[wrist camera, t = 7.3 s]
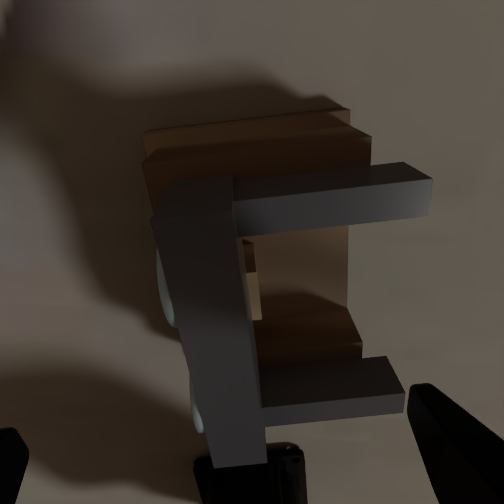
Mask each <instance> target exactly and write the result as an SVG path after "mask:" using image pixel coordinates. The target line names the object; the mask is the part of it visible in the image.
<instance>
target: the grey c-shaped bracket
mask: <svg viewBox="0 0 504 504" xmlns="http://www.w3.org/2000/svg"><path fill="white" fill-rule="evenodd" d="M432 182H433V178H431V177H429V176H427V175H426V174H424V173H422V172H420V171H419V170H417V169H415V168H413V167H412V166H410V165H408V164H406V163H405V162H397V163H388V164H379V165H371V166H362V167H354V168H345V169H336V170H328V171H319V172H310V173H302V174H293V175H284V176H276V177H267V178H258V179H250V180H241V181H234V177H233V175H226V176H217V177H209V178H200V179H192V180H183V181H174V182H172V183H171V185H170V187H169V189H168V190H167V192H166V194H165V196H164V197H163V199H162V201H161V203H160V204H159V206H158V208H157V210H156V211H155V213H154V215H153V217H152V218H151V220H150V221H151V225H152V229H153V233H154V236H155V240H156V244H157V280H158V288H159V294H160V299H161V303H162V307H163V311H164V314H165V316H166V319H167V321H168V322H169V324H170V325H171V326H172V327H178V330H179V334H180V338H181V342H182V346H183V349H184V353H185V357H186V361H187V365H188V369H189V373H190V401H191V410H192V416H193V421H194V425H195V428H196V430H197V432H198V433H205V435H206V439H207V443H208V447H209V451H210V455H211V459H212V462H213V466H214V468H223V467H232V466H242V465H252V464H262V463H267V450H266V437H265V427H269V426H279V425H288V424H298V423H307V422H317V421H327V420H336V419H346V418H356V417H365V416H375V415H385V414H394V413H403V409H404V401H405V391H404V389H403V387H402V385H401V383H400V381H399V379H398V377H397V376H396V374H395V372H394V370H393V368H392V366H391V364H390V362H389V360H388V358H387V356H380V357H371V358H361V359H352V360H343V361H333V362H324V363H314V364H305V365H296V366H286V367H277V368H267V369H259V365H258V357H257V350H256V342H255V335H254V327H253V320H252V312H251V305H250V297H249V290H248V282H247V275H246V267H245V260H244V252H243V245H242V237H246V236H255V235H264V234H273V233H282V232H291V231H300V230H308V229H317V228H326V227H335V226H344V225H353V224H362V223H370V222H379V221H388V220H397V219H406V218H415V217H424V216H428V214H429V206H430V198H431V190H432Z"/></svg>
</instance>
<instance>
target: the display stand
mask: <svg viewBox="0 0 504 504" xmlns="http://www.w3.org/2000/svg"><path fill="white" fill-rule="evenodd" d="M142 138H143V143H144V147H145V151H146V155H147V159H146V160H145V161H144V162H143V163H142V168H143V172H144V176H145V180H146V184H147V188H148V192H149V196H150V200H151V204H152V208H153V212H154V213H155V211H156V210H157V208H158V206H159V204H160V203H161V201H162V199H163V197H164V196H165V194H166V192H167V190H168V189H169V187H170V185H171V183H172V182H174V181H183V180H192V179H200V178H209V177H217V176H226V175H233V177H234V181H241V180H250V179H258V178H267V177H276V176H284V175H293V174H302V173H310V172H319V171H328V170H336V169H345V168H354V167H362V166H370V164H371V141H372V136H370V135H368V134H366V133H364V132H362V131H360V130H358V129H356V128H354V127H352V126H350V109H347V108H344V107H342V108H334V109H326V110H317V111H309V112H301V113H292V114H284V115H276V116H267V117H259V118H251V119H242V120H234V121H226V122H217V123H209V124H201V125H192V126H184V127H176V128H167V129H159V130H151V131H146V132H145V133H143V134H142ZM242 245H243V252H244V260H245V267H246V275H247V282H248V290H249V297H250V305H251V312H252V320H253V327H254V335H255V342H256V350H257V357H258V365H259V369H267V368H277V367H286V366H296V365H305V364H314V363H324V362H333V361H343V360H352V359H361V358H362V346H363V342H362V340H361V337H360V335H359V333H358V331H357V329H356V326H355V324H354V322H353V320H352V318H351V316H350V313H349V311H348V309H347V276H348V225H344V226H335V227H326V228H317V229H308V230H300V231H291V232H282V233H273V234H264V235H255V236H246V237H242Z"/></svg>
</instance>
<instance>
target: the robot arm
mask: <svg viewBox="0 0 504 504" xmlns="http://www.w3.org/2000/svg"><path fill="white" fill-rule="evenodd" d="M407 415H408V419H409V422H410V425H411V428H412V431H413V434H414V436H415V439H416V442H417V445H418V448H419V451H420V454H421V456H422V459H423V462H424V465H425V468H426V471H427V474H428V476H429V479H430V482H431V485H432V487H433V490H434V493H435V495H436V497H437V500H438V502H439V504H504V440H503V439H502V438H500V437H499V436H498V435H496V434H495V433H494V432H493V431H491V430H490V429H489V428H487V427H486V426H485V425H484V424H482V423H481V422H480V421H478V420H477V419H476V418H475V417H473V416H472V415H471V414H469V413H468V412H467V411H466V410H464V409H463V408H462V407H460V406H459V405H458V404H457V403H455V402H454V401H453V400H451V399H450V398H449V397H448V396H446V395H445V394H444V393H443V392H441V391H440V390H439V389H437V388H436V387H435V386H433V385H432V384H429V383H422V384H414V385H412V386H411V387H410V390H409V398H408V405H407ZM28 460H29V449H28V447H27V445H26V444H25V442H24V441H23V439H22V437H21V436H20V434H19V433H18V431H17V430H16V429H15V428H13V427H9V428H0V504H15V502H16V499H17V496H18V493H19V490H20V486H21V483H22V480H23V477H24V473H25V470H26V467H27V464H28ZM193 472H194V475H195V479H196V482H197V485H198V489H199V492H200V495H201V498H202V502H203V504H308V503H307V488H306V472H305V459H304V453H303V451H302V450H301V449H298V448H294V449H284V450H274V451H267V463H262V464H252V465H242V466H232V467H223V468H214V466H213V462H212V459H211V457H207V458H199V459H197V460H195V461H194V466H193Z"/></svg>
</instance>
